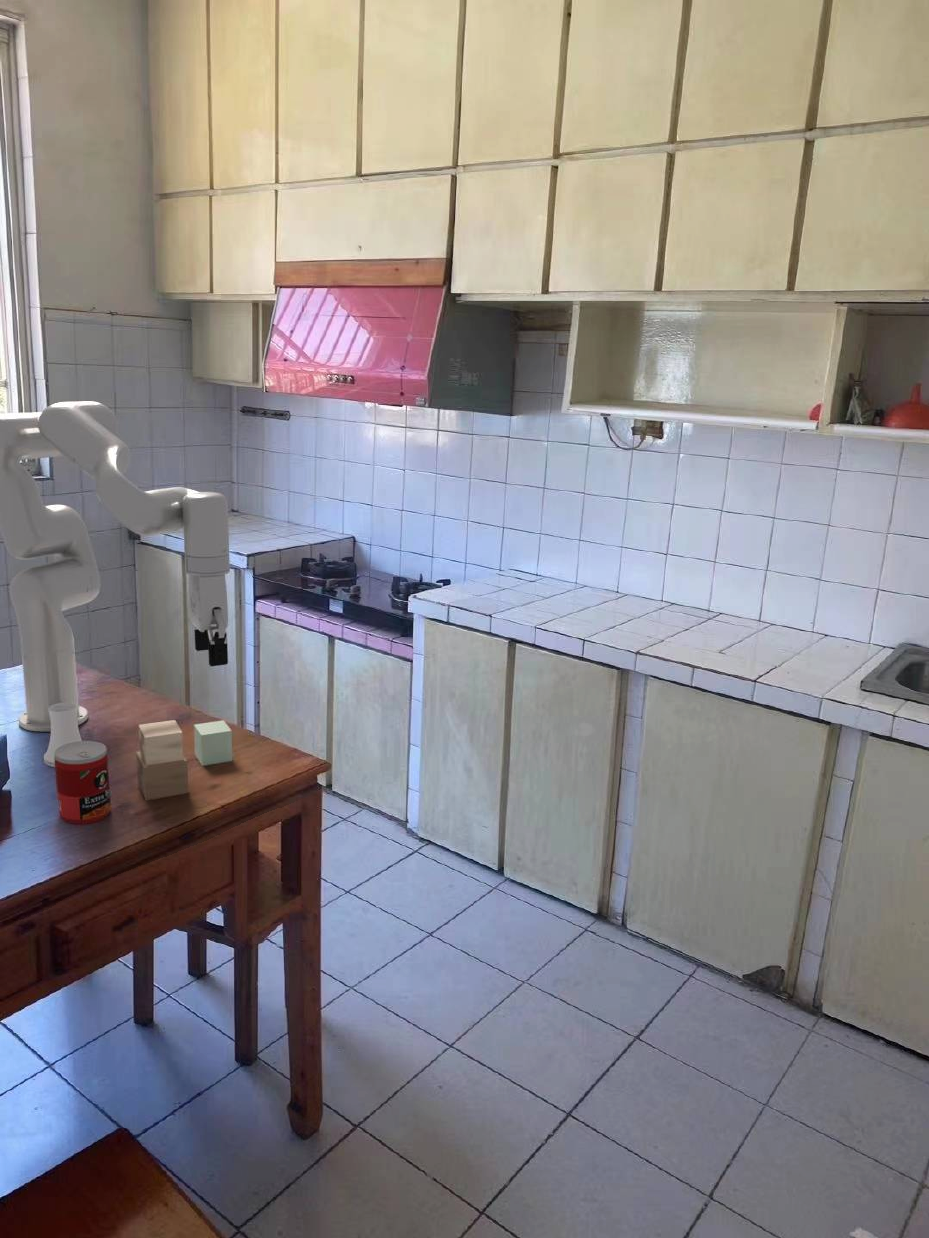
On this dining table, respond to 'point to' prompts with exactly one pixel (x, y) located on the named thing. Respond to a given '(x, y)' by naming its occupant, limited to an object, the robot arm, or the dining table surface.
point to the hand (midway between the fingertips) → (211, 657)
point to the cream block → (162, 778)
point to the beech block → (161, 742)
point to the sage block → (213, 742)
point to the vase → (62, 729)
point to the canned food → (82, 781)
